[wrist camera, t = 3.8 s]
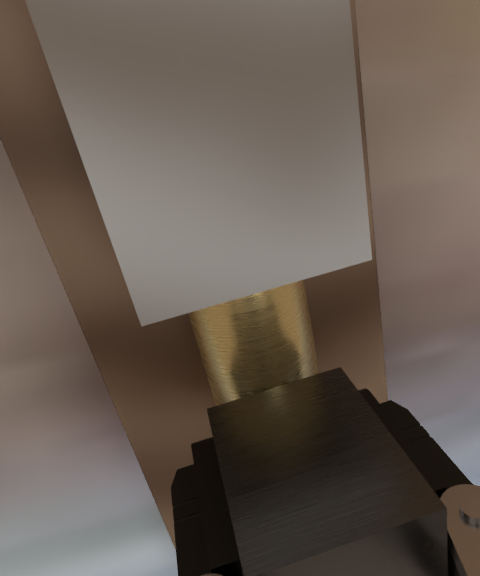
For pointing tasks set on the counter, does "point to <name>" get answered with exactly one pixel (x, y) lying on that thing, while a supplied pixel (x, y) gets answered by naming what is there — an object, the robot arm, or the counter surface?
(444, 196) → the counter surface
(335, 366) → the stand
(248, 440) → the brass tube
